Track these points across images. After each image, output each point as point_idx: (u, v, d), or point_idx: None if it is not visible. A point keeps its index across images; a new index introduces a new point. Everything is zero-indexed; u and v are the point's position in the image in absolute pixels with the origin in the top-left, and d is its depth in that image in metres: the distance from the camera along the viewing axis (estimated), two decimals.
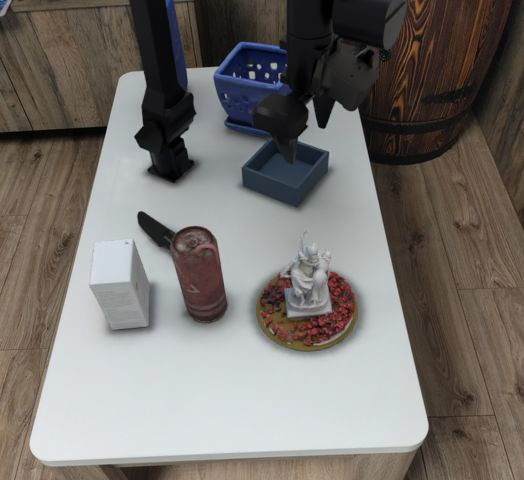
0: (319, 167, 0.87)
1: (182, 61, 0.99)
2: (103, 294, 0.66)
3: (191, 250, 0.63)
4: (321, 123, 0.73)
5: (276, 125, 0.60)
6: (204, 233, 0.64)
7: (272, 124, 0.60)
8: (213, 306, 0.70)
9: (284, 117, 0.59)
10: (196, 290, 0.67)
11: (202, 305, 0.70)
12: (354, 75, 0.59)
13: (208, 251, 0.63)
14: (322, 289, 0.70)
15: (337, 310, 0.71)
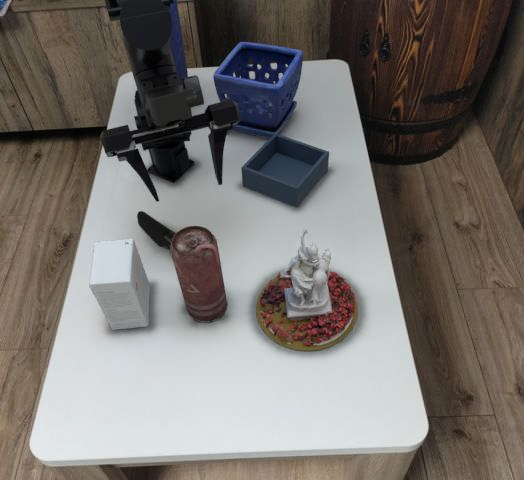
0: (319, 167, 0.87)
1: (183, 62, 0.99)
2: (103, 294, 0.66)
3: (191, 250, 0.63)
4: (217, 179, 0.71)
5: None
6: (204, 233, 0.64)
7: None
8: (213, 306, 0.70)
9: None
10: (196, 290, 0.67)
11: (202, 305, 0.70)
12: (160, 93, 0.61)
13: (208, 251, 0.63)
14: (322, 289, 0.70)
15: (337, 310, 0.71)
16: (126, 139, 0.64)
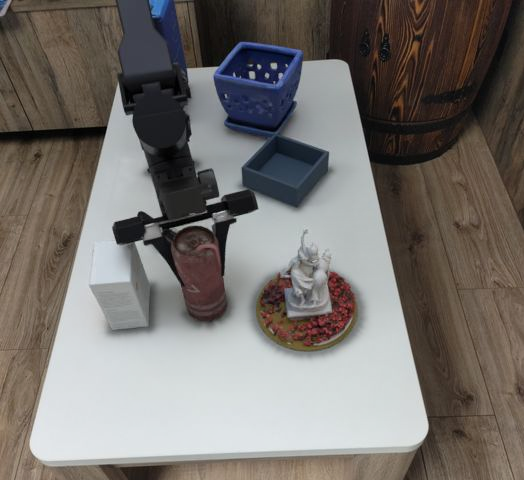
0: (319, 167, 0.87)
1: (182, 61, 0.99)
2: (103, 294, 0.66)
3: (192, 250, 0.63)
4: None
5: None
6: (205, 233, 0.64)
7: None
8: (213, 306, 0.70)
9: None
10: (196, 290, 0.67)
11: (202, 305, 0.70)
12: (174, 187, 0.59)
13: (209, 251, 0.63)
14: (322, 289, 0.70)
15: (337, 310, 0.71)
16: (138, 230, 0.62)
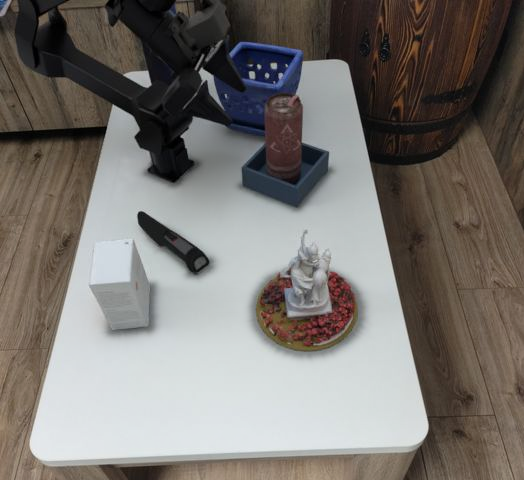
0: (319, 167, 0.87)
1: None
2: (103, 294, 0.66)
3: (291, 106, 0.78)
4: (240, 87, 0.81)
5: (179, 96, 0.70)
6: (278, 97, 0.79)
7: (177, 99, 0.70)
8: None
9: (177, 84, 0.69)
10: (299, 144, 0.82)
11: (299, 159, 0.85)
12: (201, 17, 0.69)
13: (299, 99, 0.79)
14: (322, 289, 0.70)
15: (337, 310, 0.71)
16: (197, 75, 0.70)
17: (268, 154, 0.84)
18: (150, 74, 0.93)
